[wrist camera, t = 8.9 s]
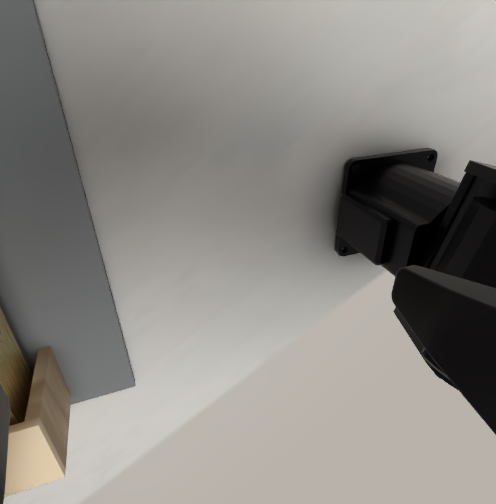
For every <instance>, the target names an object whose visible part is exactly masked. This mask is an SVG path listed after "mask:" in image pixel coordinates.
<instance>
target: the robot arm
mask: <svg viewBox="0 0 496 504" xmlns="http://www.w3.org/2000/svg"><path fill="white" fill-rule="evenodd" d="M428 156H429V158H428ZM436 160H437V151H436V150H433V149H430V148H427V149H419V150H412V151H404V152H397V153H390V154H382V155H375V156H367V157H360V158H353V159H350V160H349V161H348V162H347V163H346V166H345V171H344V179H343V187H342V195H341V198H340V206H339V214H338V222H337V231H336V233H337V236H336V245H335V251H336V253H338V254H339V255H340V256H347V255H352V254H356V253H361V254H363V255H364V256H365V257H366V258H368V259H369V260H370V261H371V262H373V263H374V264H375V265H381V266H383V267H384V268H385V269H387V270H388V271H389V272H390V273H392V274H393V275H394V276H395V281H394V285H393V290H392V300H393V303H394V304H395V306H396V308H395V310H394V313H395V315H396V316H397V318H398V319H399V321H400V323H401V324H402V326H403V327H404V329H405V330H406V332H407V333H408V335H409V337H410V338H411V340H412V341H413V343H414V344H415V346H416V347H417V349H418V351H419V352H420V354H421V355H422V357H423V358H424V360H425V362H426V363H427V364H428V366H429V367H430V368H431V369H432V370H433V371H434V373H435V374H436V375H437V376H438V377H439V378H441V379H443V380H444V381H445V382H447V383H448V384H449V385H451V386H453V387H454V388H456V389H457V390H459V391H460V392H461V393H462V394H463V396H464V397H465V398H466V399H467V401H468V402H469V403H470V404H471V405H472V407H473V408H474V409H475V410H476V411H477V413H478V414H479V415H480V416H481V418H482V419H483V420H484V421H485V422H486V423H487V425H488V426H489V427H490V428H491V429H492V431H493V432H494V433H495V434H496V166H492V165H488V164H484V163H479V162H475V161H471V160H470V161H469V163H468V165H467V167H466V169H465V172H466V173H465V175H464V177H463V179H462V181H461V183H459V182H457V181H454V180H452V179H449V178H447V177H444V176H441V175H439V174H436V173H434V168H435V164H436ZM354 165H356V167H355V169H354V170H353V171H352V168H353V166H354ZM343 247H344V249H343V250H342V248H343ZM9 422H10V403H9V399H8V397H7V395H6V393H5V391H4V389H3V388H2V386H1V384H0V504H3V501H4V494H5V484H6V470H7V454H8V438H9Z"/></svg>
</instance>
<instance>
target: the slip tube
mask: <svg viewBox="0 0 496 504" xmlns="http://www.w3.org/2000/svg"><path fill="white" fill-rule="evenodd" d="M32 380H33V375H32V373H31V371H30V369H29V367H28V364H27V362H26V360H25V358H24V356H23V354H22V352H21V350H20V348H19V346H18V343H17V341H16V339H15V337H14V335H13V333H12V331H11V329H10V327H9V325H8V322H7V320H6V318H5V316H4V314H3V312H2V310H1V308H0V384H1V386H2V388H3V389H4V391H5V393H6V395H7V397H8V399H9V403H10V422H9V426H12V425H15V424H19V423H22V422H25V416H26V411H27V406H28V401H29V395H30V390H31V385H32Z"/></svg>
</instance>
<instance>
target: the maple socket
mask: <svg viewBox="0 0 496 504" xmlns="http://www.w3.org/2000/svg"><path fill="white" fill-rule="evenodd" d="M70 402H71V394H70V391H69V389H68V387H67V384H66V382H65V379H64V377H63V374H62V372H61V370H60V367H59V365H58V362H57V360H56V358H55V355H54V353H53V350H52V348H51V345H50V346H46V347H42V348H39V349H38V354H37V359H36V364H35V369H34V375H33V380H32V385H31V390H30V395H29V401H28V406H27V411H26V416H25V422H22V423H19V424H15V425H12V426H9V438H8V454H7V470H6V484H5V494H4V497H6V496H9V495H12V494H15V493H18V492H21V491H24V490H27V489H30V488H33V487H36V486H39V485H42V484H45V483H48V482H51V481H54V480H57V479H60V478H63V477H65V469H66V456H67V442H68V429H69V416H70Z"/></svg>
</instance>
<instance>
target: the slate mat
mask: <svg viewBox="0 0 496 504" xmlns="http://www.w3.org/2000/svg"><path fill="white" fill-rule="evenodd" d="M0 308H1V310H2V312H3V314H4V316H5V318H6V320H7V322H8V325H9V327H10V329H11V331H12V333H13V335H14V337H15V339H16V341H17V343H18V346H19V348H20V350H21V352H22V354H23V356H24V358H25V360H26V362H27V364H28V367H29V369H30V371H31V373H32V375H34V369H35V364H36V359H37V354H38V349H39V348H42V347H46V346H50V345H51V348H52V350H53V353H54V355H55V358H56V360H57V362H58V365H59V367H60V370H61V372H62V374H63V377H64V379H65V382H66V384H67V387H68V389H69V391H70V394H71V402H70V405H71V404H74V403H78V402H81V401H85V400H88V399H92V398H95V397H99V396H102V395H106V394H109V393H113V392H116V391H120V390H123V389H127V388H130V387H134V386H135V380H134V376H133V373H132V369H131V365H130V361H129V358H128V354H127V350H126V346H125V343H124V339H123V335H122V331H121V328H120V324H119V320H118V316H117V313H116V309H115V305H114V301H113V298H112V294H111V290H110V286H109V283H108V279H107V275H106V271H105V268H104V264H103V260H102V256H101V253H100V249H99V245H98V241H97V238H96V234H95V230H94V226H93V223H92V219H91V215H90V212H89V208H88V204H87V200H86V197H85V193H84V189H83V185H82V182H81V178H80V174H79V170H78V167H77V163H76V159H75V155H74V152H73V148H72V144H71V140H70V137H69V133H68V129H67V125H66V122H65V118H64V114H63V110H62V107H61V103H60V99H59V95H58V92H57V88H56V84H55V80H54V77H53V73H52V69H51V65H50V62H49V58H48V54H47V50H46V47H45V43H44V39H43V35H42V32H41V28H40V24H39V20H38V17H37V13H36V9H35V5H34V2H33V0H0Z"/></svg>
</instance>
